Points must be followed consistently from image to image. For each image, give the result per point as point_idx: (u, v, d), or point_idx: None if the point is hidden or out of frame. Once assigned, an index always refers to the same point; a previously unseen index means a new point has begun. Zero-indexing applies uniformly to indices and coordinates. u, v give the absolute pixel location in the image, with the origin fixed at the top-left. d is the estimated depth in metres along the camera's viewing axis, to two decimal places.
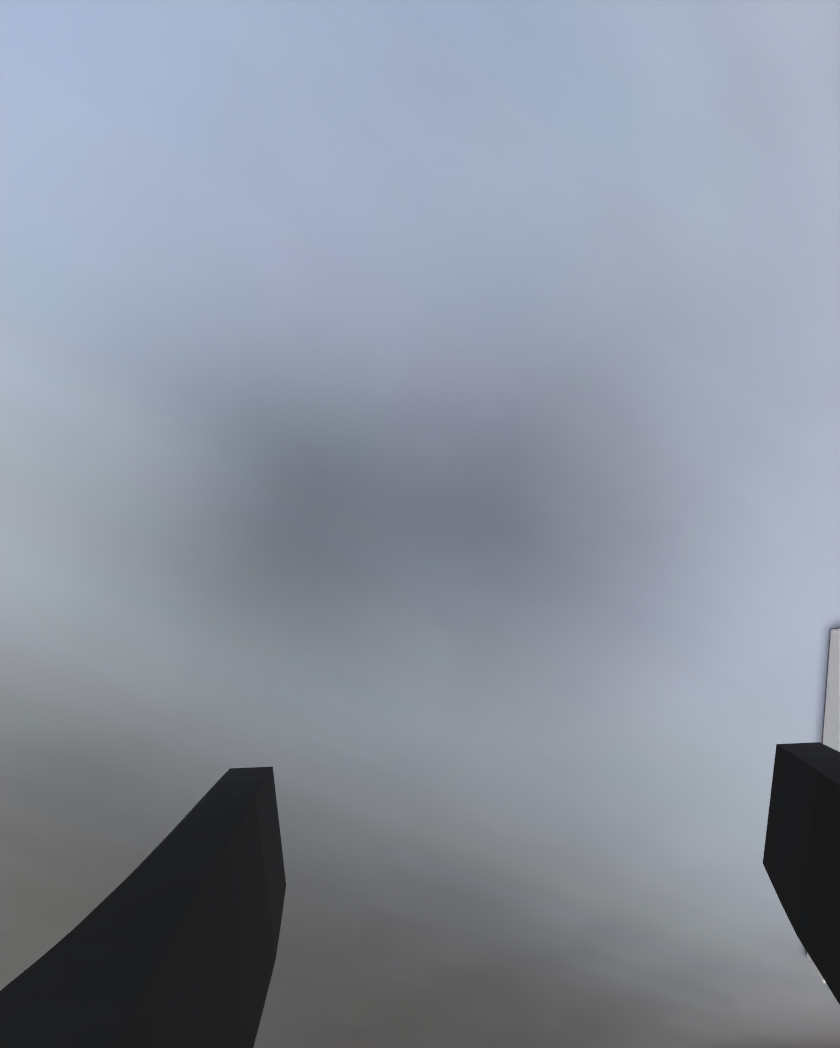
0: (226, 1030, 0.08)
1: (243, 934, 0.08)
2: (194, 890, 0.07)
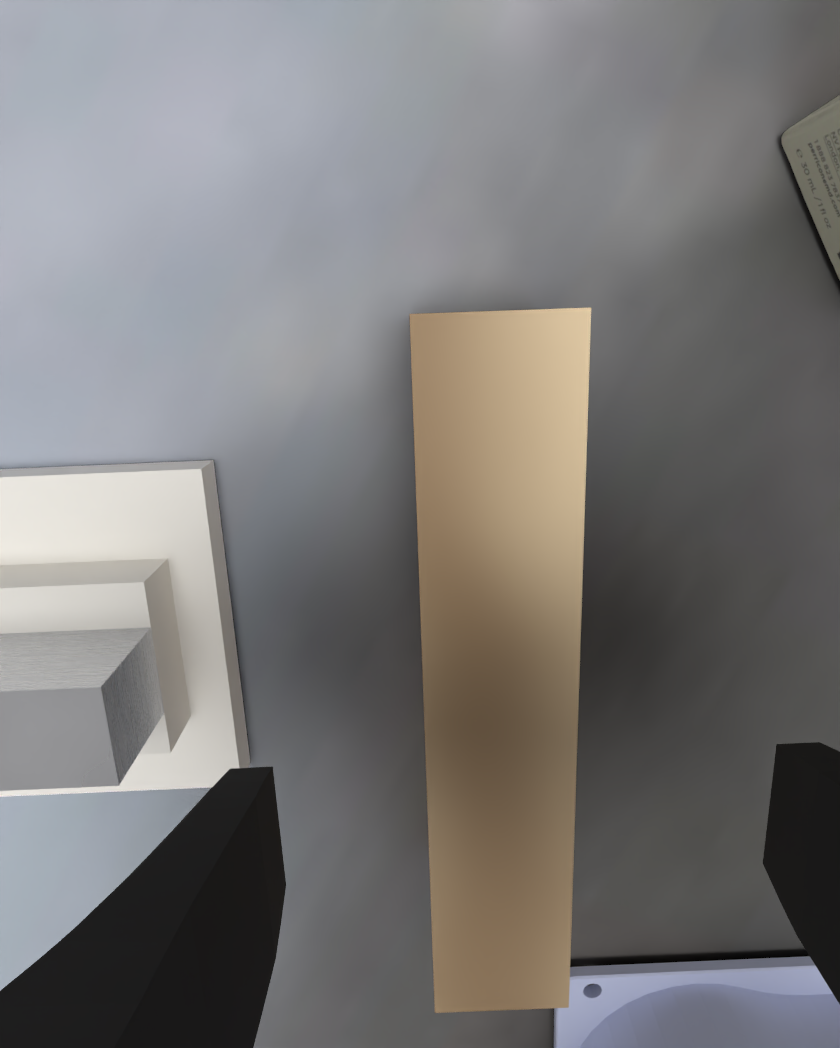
0: (226, 1030, 0.08)
1: (243, 934, 0.08)
2: (194, 890, 0.07)
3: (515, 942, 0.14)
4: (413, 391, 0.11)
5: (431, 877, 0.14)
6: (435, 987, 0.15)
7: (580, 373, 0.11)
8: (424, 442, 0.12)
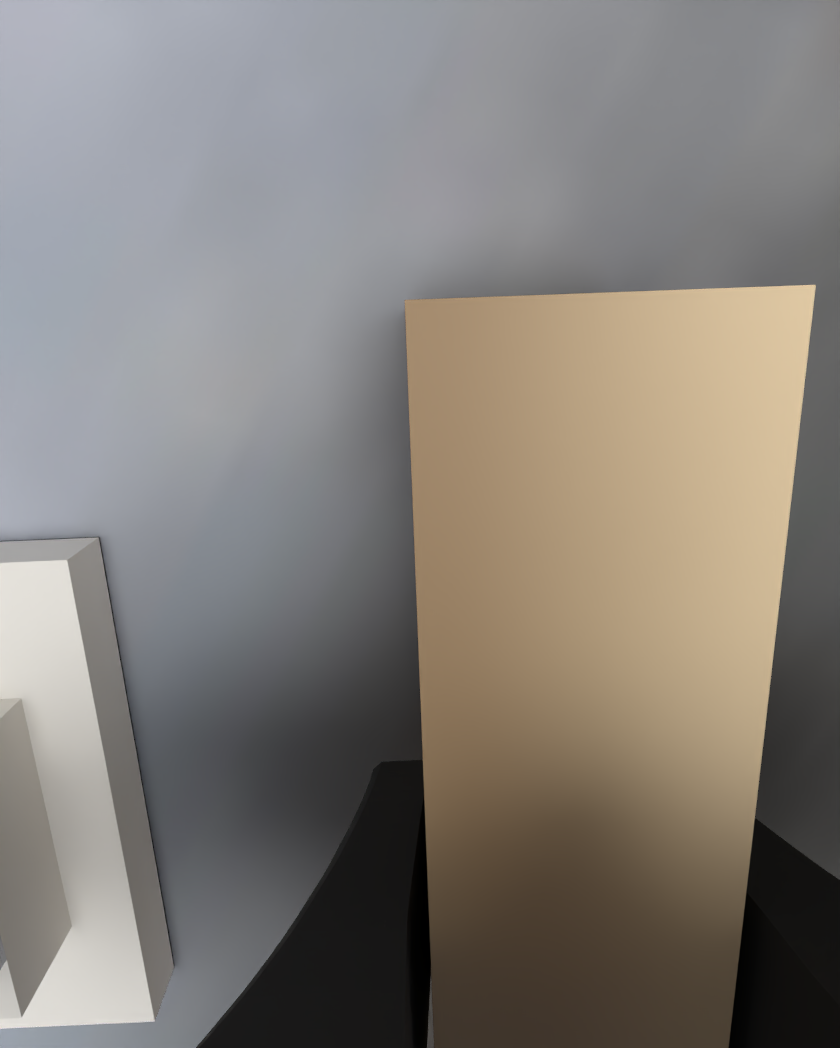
0: (420, 1021, 0.08)
1: (423, 926, 0.08)
2: (405, 881, 0.07)
3: None
4: (413, 469, 0.05)
5: None
6: None
7: (779, 430, 0.05)
8: (437, 576, 0.05)
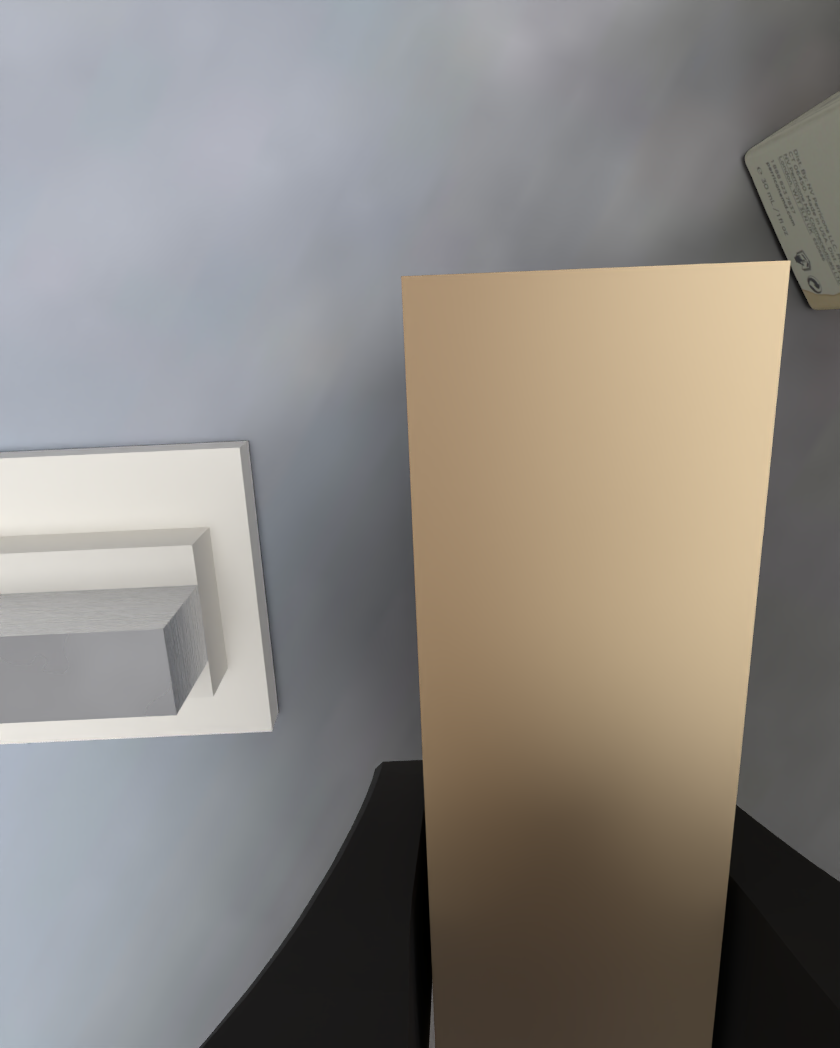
0: (422, 1021, 0.08)
1: (425, 926, 0.08)
2: (407, 880, 0.07)
3: None
4: (410, 439, 0.05)
5: None
6: None
7: (758, 400, 0.05)
8: (433, 541, 0.06)
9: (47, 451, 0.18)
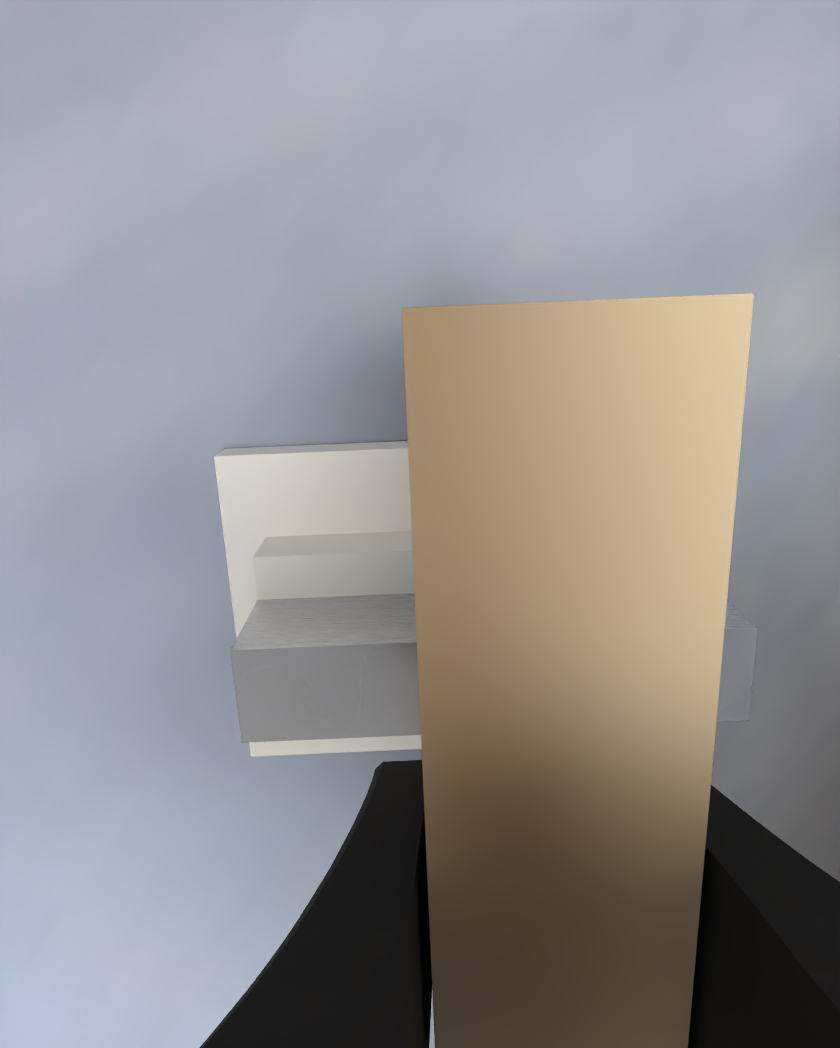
0: (422, 1021, 0.08)
1: (425, 926, 0.08)
2: (408, 880, 0.07)
3: None
4: (410, 454, 0.06)
5: None
6: None
7: (726, 419, 0.06)
8: (432, 546, 0.06)
9: None
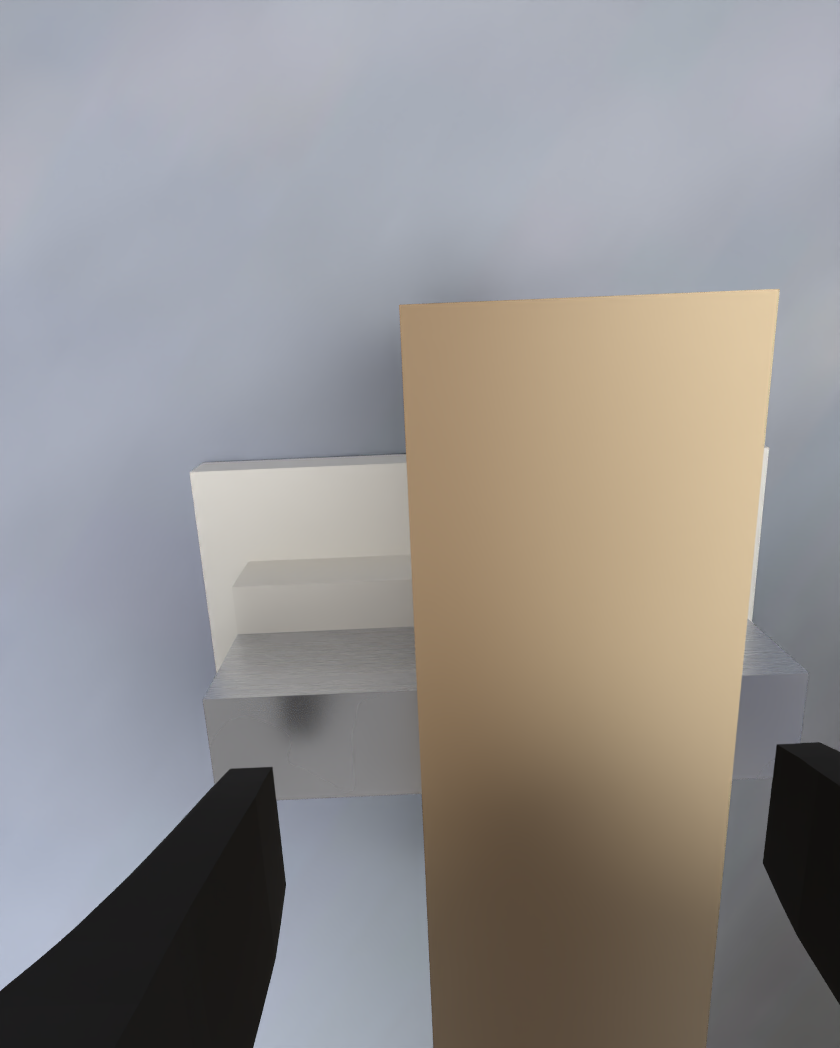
0: (226, 1030, 0.08)
1: (243, 934, 0.08)
2: (194, 890, 0.07)
3: None
4: (408, 462, 0.06)
5: None
6: None
7: (748, 424, 0.06)
8: (431, 562, 0.06)
9: None
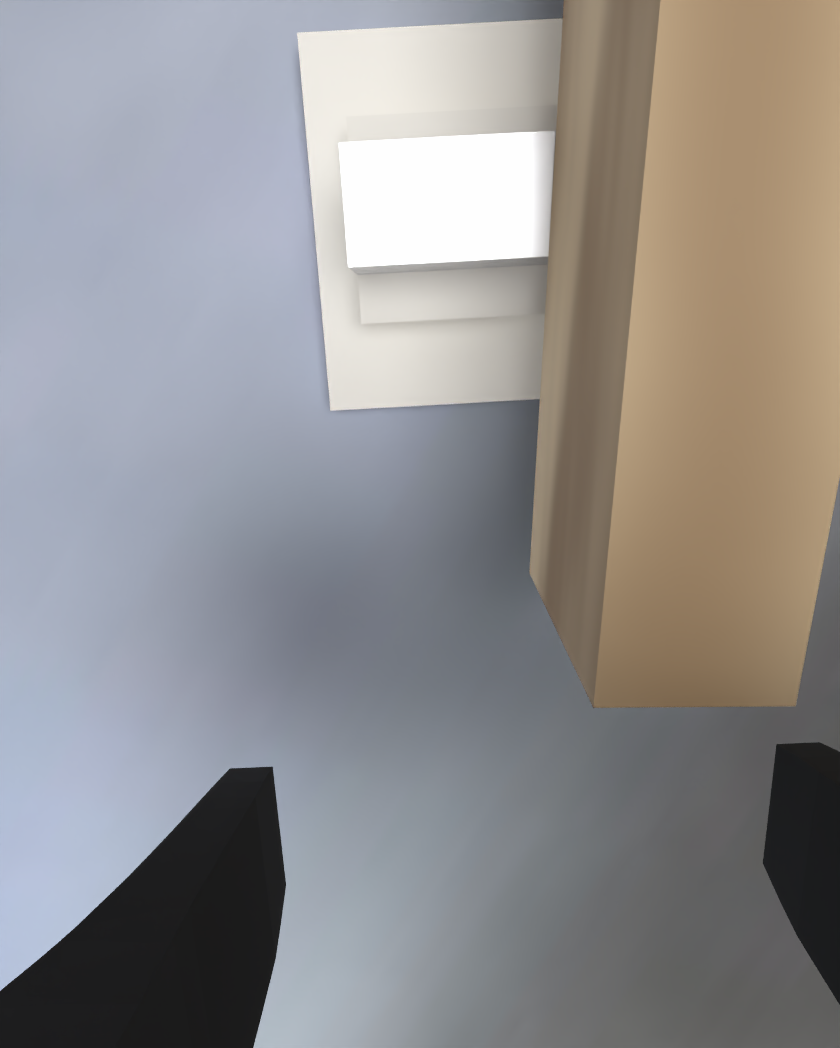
0: (226, 1030, 0.08)
1: (243, 934, 0.08)
2: (194, 890, 0.07)
3: (732, 587, 0.09)
4: None
5: (618, 461, 0.09)
6: (600, 662, 0.09)
7: None
8: None
9: None
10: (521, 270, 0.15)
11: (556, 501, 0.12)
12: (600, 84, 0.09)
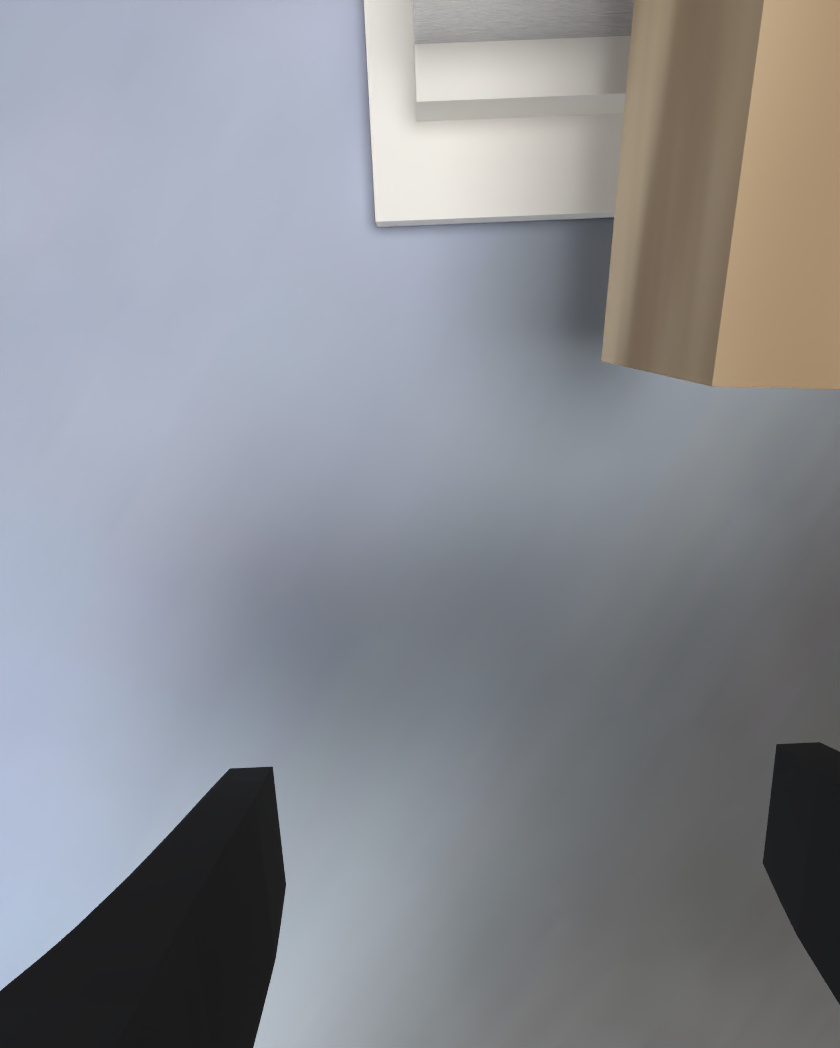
0: (226, 1030, 0.08)
1: (243, 934, 0.08)
2: (194, 890, 0.07)
3: None
4: None
5: (758, 55, 0.07)
6: (723, 324, 0.08)
7: None
8: None
9: None
10: (591, 42, 0.14)
11: (648, 228, 0.11)
12: None
